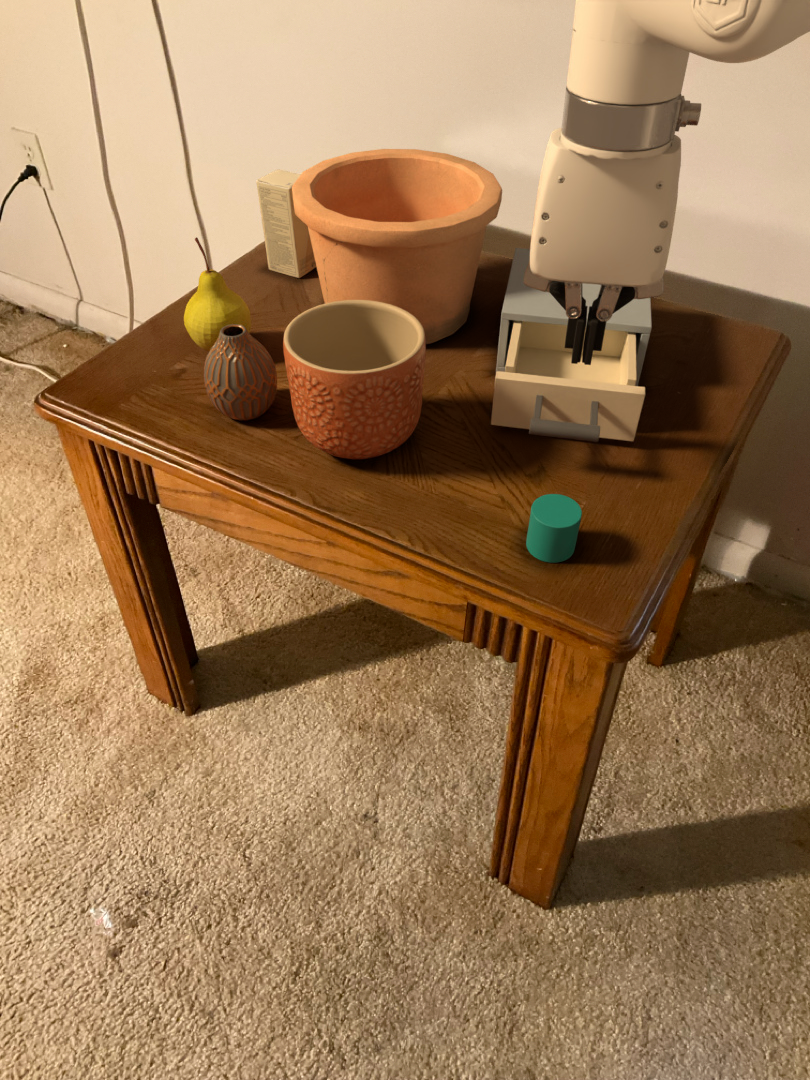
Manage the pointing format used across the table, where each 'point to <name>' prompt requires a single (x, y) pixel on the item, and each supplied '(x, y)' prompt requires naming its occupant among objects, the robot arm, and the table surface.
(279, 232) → the box
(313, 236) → the pottery
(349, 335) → the planter
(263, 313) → the table surface
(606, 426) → the drawer
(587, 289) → the grey cabinet
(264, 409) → the vase
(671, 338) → the table surface
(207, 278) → the fruit
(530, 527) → the cylinder
